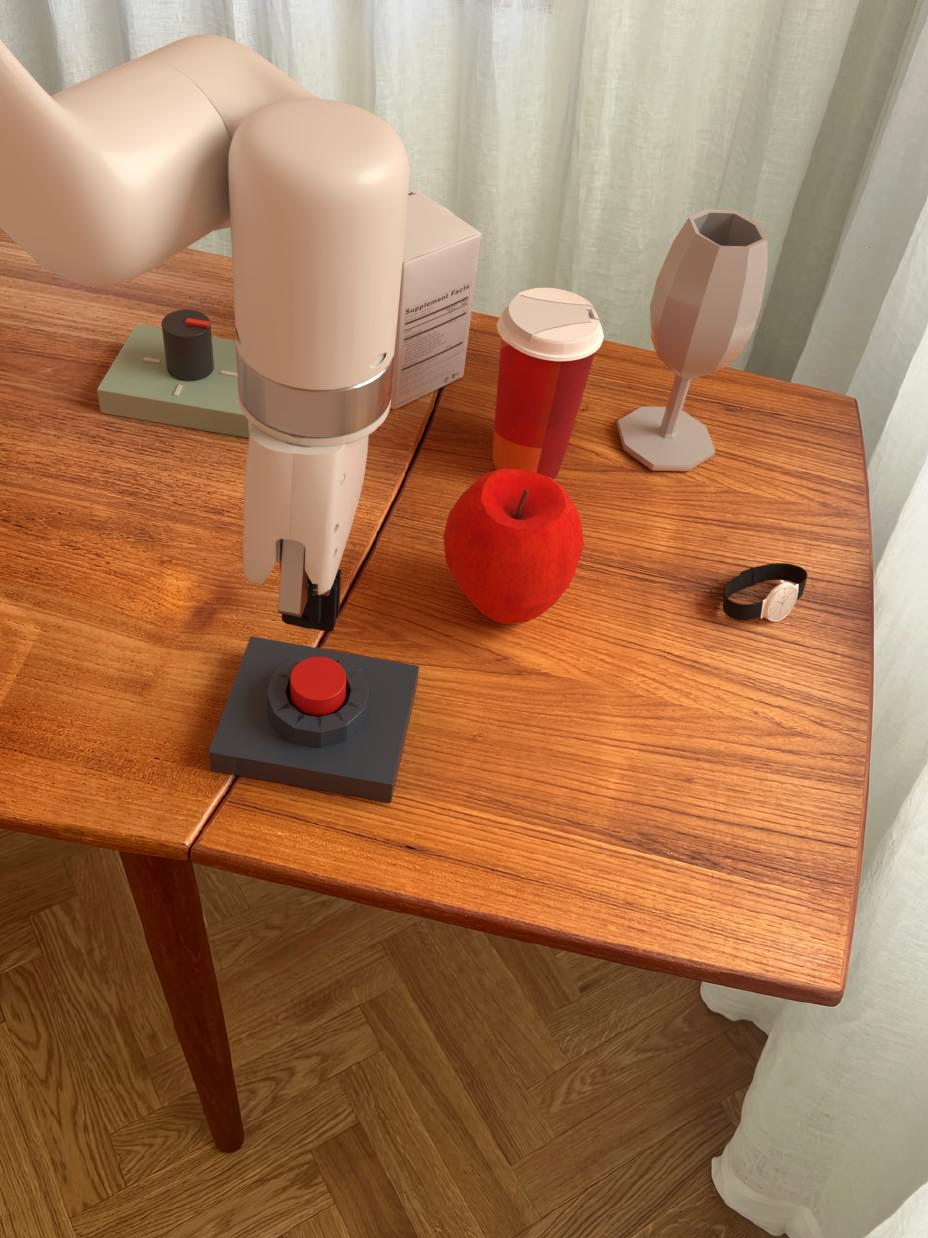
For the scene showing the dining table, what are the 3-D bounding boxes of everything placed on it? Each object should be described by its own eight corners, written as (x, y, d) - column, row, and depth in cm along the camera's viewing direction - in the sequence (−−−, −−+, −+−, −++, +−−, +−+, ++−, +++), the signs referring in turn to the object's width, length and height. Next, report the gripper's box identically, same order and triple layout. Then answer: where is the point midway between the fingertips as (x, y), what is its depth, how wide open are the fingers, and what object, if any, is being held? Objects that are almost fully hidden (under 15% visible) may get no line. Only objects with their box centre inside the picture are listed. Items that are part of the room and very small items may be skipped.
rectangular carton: (330, 362, 103) (331, 211, 92) (403, 330, 107) (413, 183, 96) (392, 413, 99) (402, 262, 88) (467, 378, 103) (484, 230, 92)
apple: (410, 603, 84) (421, 482, 75) (493, 540, 89) (513, 420, 80) (511, 677, 80) (535, 559, 71) (591, 606, 86) (624, 488, 77)
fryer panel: (100, 413, 95) (96, 387, 93) (140, 346, 102) (136, 321, 100) (249, 438, 95) (248, 413, 93) (279, 370, 101) (278, 345, 99)
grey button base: (210, 771, 73) (206, 735, 70) (251, 655, 79) (249, 618, 76) (391, 803, 72) (394, 769, 69) (417, 684, 79) (421, 648, 76)
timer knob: (160, 377, 95) (154, 329, 91) (174, 350, 98) (169, 302, 94) (206, 384, 95) (202, 336, 91) (219, 357, 98) (215, 310, 94)
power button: (284, 710, 72) (284, 694, 71) (298, 668, 74) (297, 651, 73) (339, 720, 72) (339, 704, 71) (350, 677, 74) (351, 661, 73)
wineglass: (646, 484, 96) (710, 266, 80) (598, 422, 101) (650, 206, 85) (730, 463, 99) (807, 249, 83) (679, 404, 104) (743, 192, 88)
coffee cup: (561, 430, 100) (592, 282, 88) (583, 493, 94) (619, 344, 83) (469, 433, 98) (489, 283, 87) (486, 497, 93) (510, 346, 82)
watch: (742, 640, 85) (756, 608, 82) (702, 599, 87) (715, 567, 85) (814, 606, 88) (829, 574, 85) (773, 567, 91) (787, 536, 88)
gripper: (279, 277, 59) (281, 523, 73) (193, 458, 49) (214, 703, 63) (417, 303, 59) (393, 545, 73) (359, 489, 49) (344, 728, 63)
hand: (310, 618), depth 68 cm, fingers closed
